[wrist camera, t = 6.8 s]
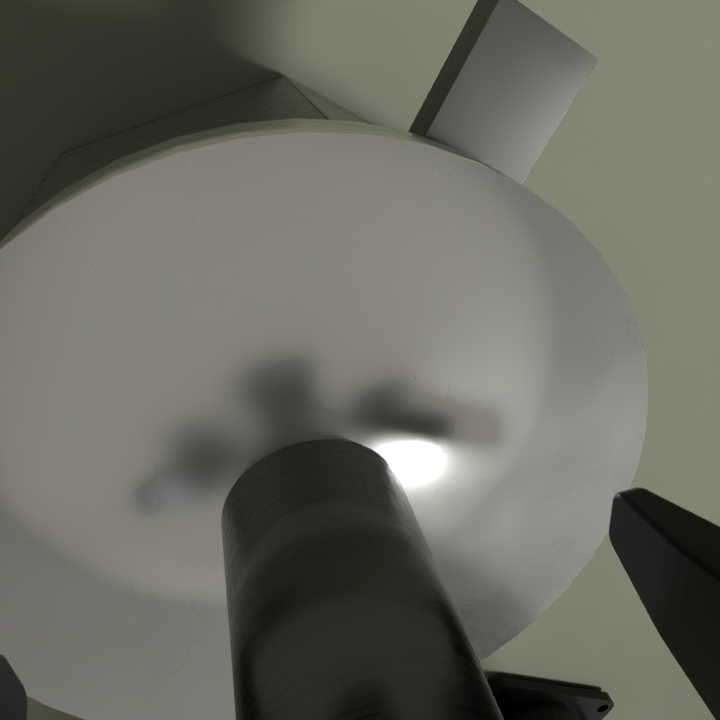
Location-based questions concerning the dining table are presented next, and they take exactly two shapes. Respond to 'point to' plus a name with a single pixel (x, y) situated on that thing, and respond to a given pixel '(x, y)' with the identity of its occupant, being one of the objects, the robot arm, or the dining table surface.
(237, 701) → the lid
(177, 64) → the dining table surface
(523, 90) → the pot
